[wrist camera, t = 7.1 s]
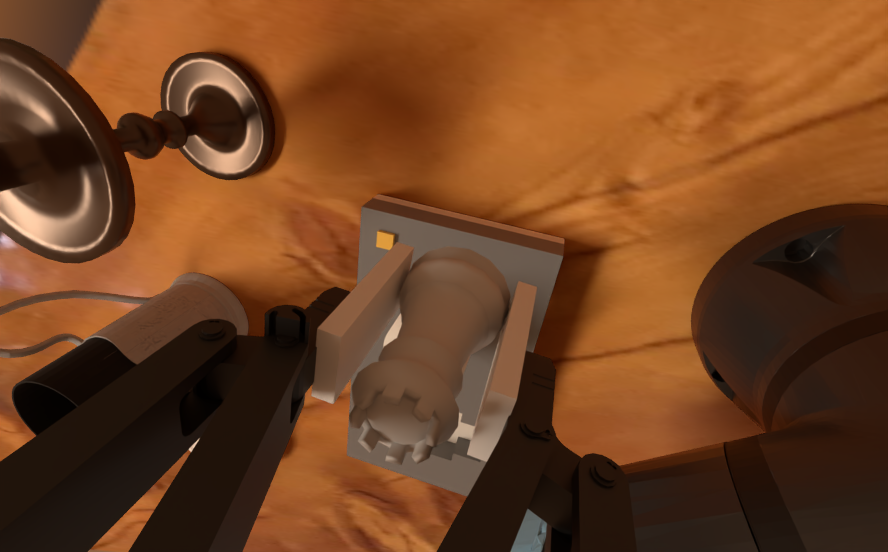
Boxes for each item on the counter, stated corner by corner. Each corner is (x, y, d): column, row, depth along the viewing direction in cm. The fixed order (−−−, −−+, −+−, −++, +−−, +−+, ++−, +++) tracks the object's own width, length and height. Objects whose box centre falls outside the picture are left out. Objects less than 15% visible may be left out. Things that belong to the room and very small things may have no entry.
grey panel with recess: (564, 238, 32) (560, 293, 25) (491, 475, 44) (475, 555, 38) (378, 193, 34) (327, 233, 27) (359, 432, 47) (321, 500, 40)
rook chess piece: (400, 315, 20) (310, 454, 14) (419, 227, 18) (323, 340, 11) (495, 348, 20) (451, 510, 13) (526, 261, 18) (494, 401, 11)
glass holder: (231, 363, 47) (100, 485, 34) (115, 280, 46) (-65, 374, 33) (261, 312, 42) (123, 430, 30) (133, 218, 41) (-68, 299, 28)
